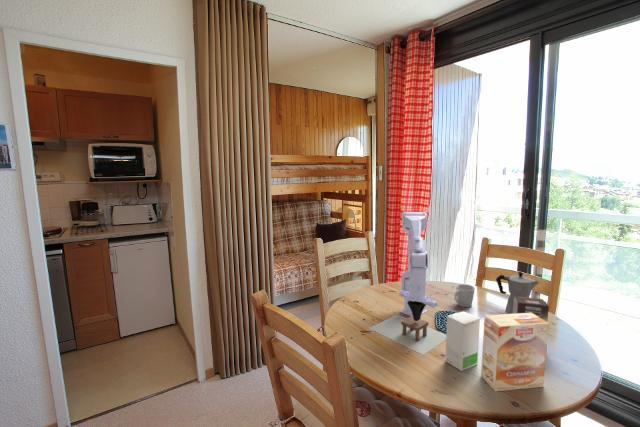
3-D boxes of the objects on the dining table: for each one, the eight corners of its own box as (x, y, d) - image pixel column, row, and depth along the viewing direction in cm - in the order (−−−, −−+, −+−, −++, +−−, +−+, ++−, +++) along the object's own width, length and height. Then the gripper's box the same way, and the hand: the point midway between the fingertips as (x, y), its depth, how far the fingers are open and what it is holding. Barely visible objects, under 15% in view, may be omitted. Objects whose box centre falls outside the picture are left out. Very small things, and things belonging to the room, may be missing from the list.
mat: (396, 314, 134) (396, 314, 134) (450, 337, 116) (450, 336, 116) (368, 328, 123) (368, 328, 123) (423, 355, 105) (423, 355, 105)
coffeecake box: (495, 392, 87) (499, 326, 84) (479, 375, 94) (483, 314, 91) (545, 387, 88) (550, 322, 86) (526, 371, 95) (530, 311, 93)
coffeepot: (535, 311, 135) (538, 271, 133) (537, 320, 127) (540, 278, 125) (495, 304, 143) (497, 266, 140) (494, 312, 135) (496, 272, 133)
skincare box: (461, 372, 96) (463, 324, 94) (443, 360, 102) (445, 315, 100) (478, 364, 100) (481, 317, 98) (461, 353, 106) (463, 309, 103)
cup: (477, 306, 141) (478, 288, 140) (461, 310, 137) (462, 292, 136) (463, 300, 148) (464, 283, 147) (448, 304, 144) (448, 286, 143)
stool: (401, 321, 117) (417, 328, 112) (412, 315, 122) (428, 322, 116) (401, 334, 118) (417, 342, 112) (411, 328, 122) (428, 335, 117)
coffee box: (514, 346, 109) (517, 302, 107) (510, 337, 115) (512, 295, 113) (545, 350, 106) (549, 305, 104) (539, 341, 112) (542, 298, 110)
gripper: (394, 282, 117) (394, 316, 119) (429, 293, 106) (428, 330, 108) (405, 277, 122) (405, 310, 123) (440, 288, 110) (439, 324, 112)
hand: (416, 319), depth 116 cm, fingers closed
